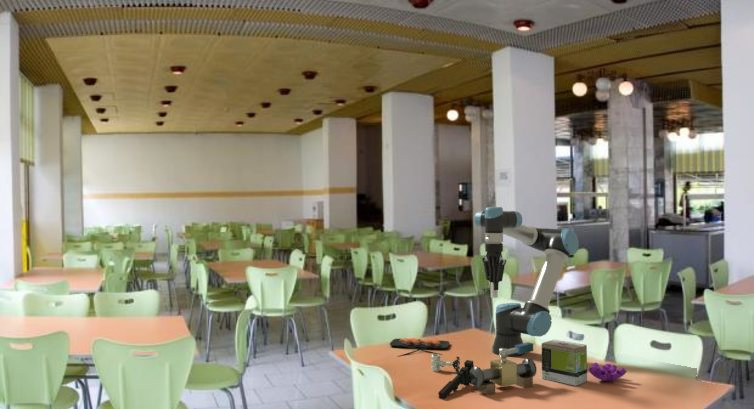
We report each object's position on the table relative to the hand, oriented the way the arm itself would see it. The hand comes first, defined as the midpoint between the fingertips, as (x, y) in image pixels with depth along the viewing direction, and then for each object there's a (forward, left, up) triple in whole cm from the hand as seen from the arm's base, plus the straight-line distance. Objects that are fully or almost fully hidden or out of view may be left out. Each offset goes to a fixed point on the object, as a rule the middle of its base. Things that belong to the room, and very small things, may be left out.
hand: (494, 297), depth 257 cm
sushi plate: (+14, -42, -31) cm, 54 cm away
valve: (+22, -5, -31) cm, 38 cm away
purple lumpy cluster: (-28, +36, -31) cm, 55 cm away
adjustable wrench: (+31, +18, -31) cm, 47 cm away
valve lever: (+7, +23, -18) cm, 30 cm away
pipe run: (+14, +24, -30) cm, 41 cm away
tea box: (-14, +27, -31) cm, 43 cm away
